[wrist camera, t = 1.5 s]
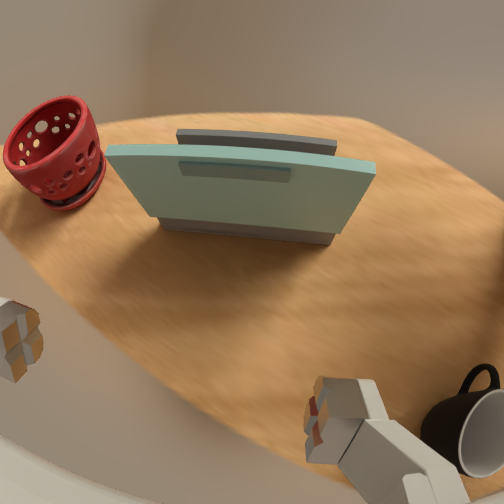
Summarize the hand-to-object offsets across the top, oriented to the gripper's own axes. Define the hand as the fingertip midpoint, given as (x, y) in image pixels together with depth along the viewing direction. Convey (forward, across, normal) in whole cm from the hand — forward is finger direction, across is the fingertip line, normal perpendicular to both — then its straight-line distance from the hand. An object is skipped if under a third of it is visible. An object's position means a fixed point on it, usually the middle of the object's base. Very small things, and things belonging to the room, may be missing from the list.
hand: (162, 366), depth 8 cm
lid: (+21, 0, -2) cm, 21 cm away
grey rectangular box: (+34, 0, 0) cm, 34 cm away
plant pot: (+36, +26, +2) cm, 44 cm away
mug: (+17, -28, +18) cm, 37 cm away
